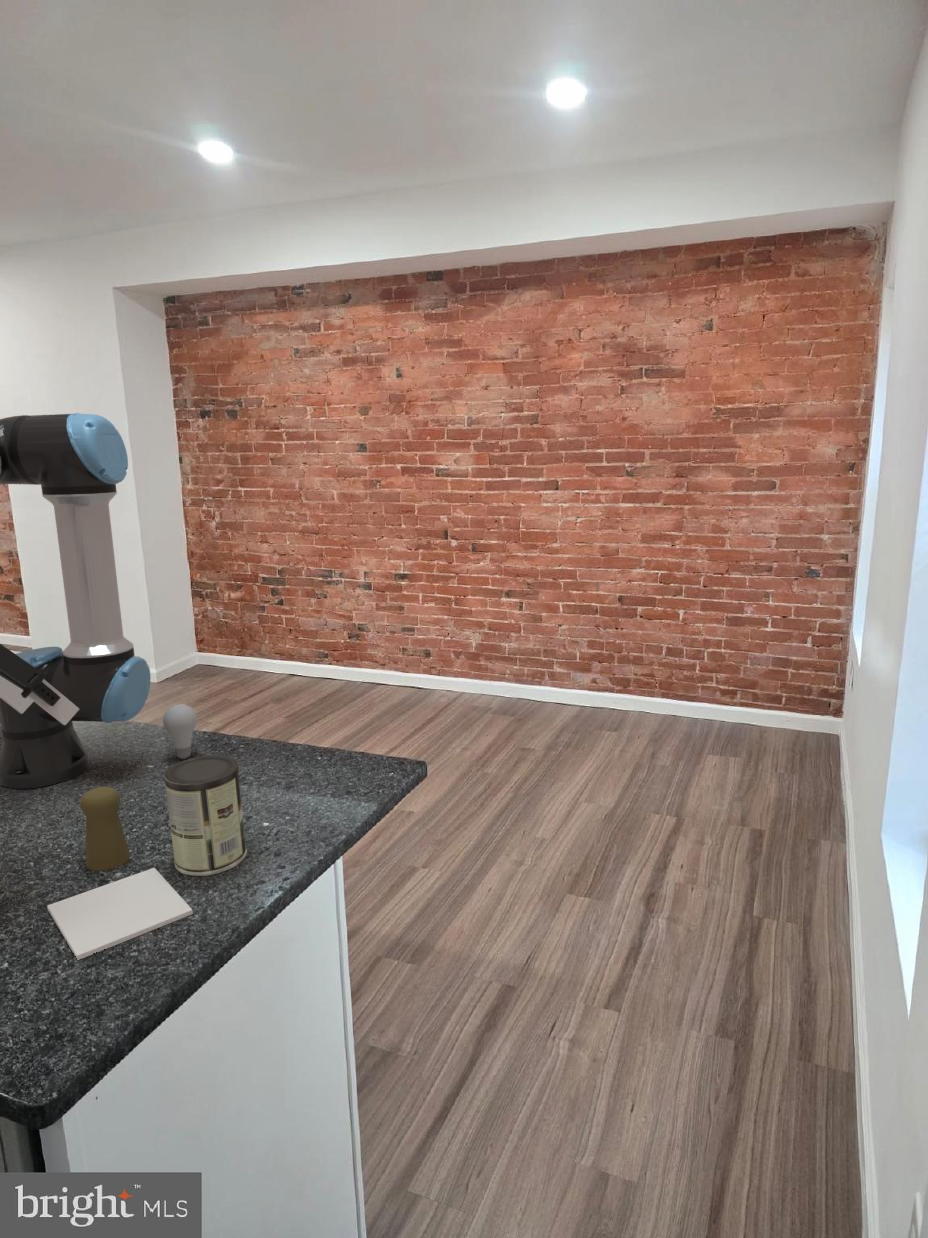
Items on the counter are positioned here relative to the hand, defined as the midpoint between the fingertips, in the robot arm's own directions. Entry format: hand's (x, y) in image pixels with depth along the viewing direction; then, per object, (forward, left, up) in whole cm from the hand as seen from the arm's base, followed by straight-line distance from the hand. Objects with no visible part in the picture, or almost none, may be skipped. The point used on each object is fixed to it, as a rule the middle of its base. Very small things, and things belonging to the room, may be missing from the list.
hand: (49, 711), depth 110 cm
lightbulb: (-29, +28, -24) cm, 47 cm away
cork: (+1, +5, -24) cm, 25 cm away
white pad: (+16, +2, -24) cm, 29 cm away
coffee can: (+11, +16, -24) cm, 31 cm away
